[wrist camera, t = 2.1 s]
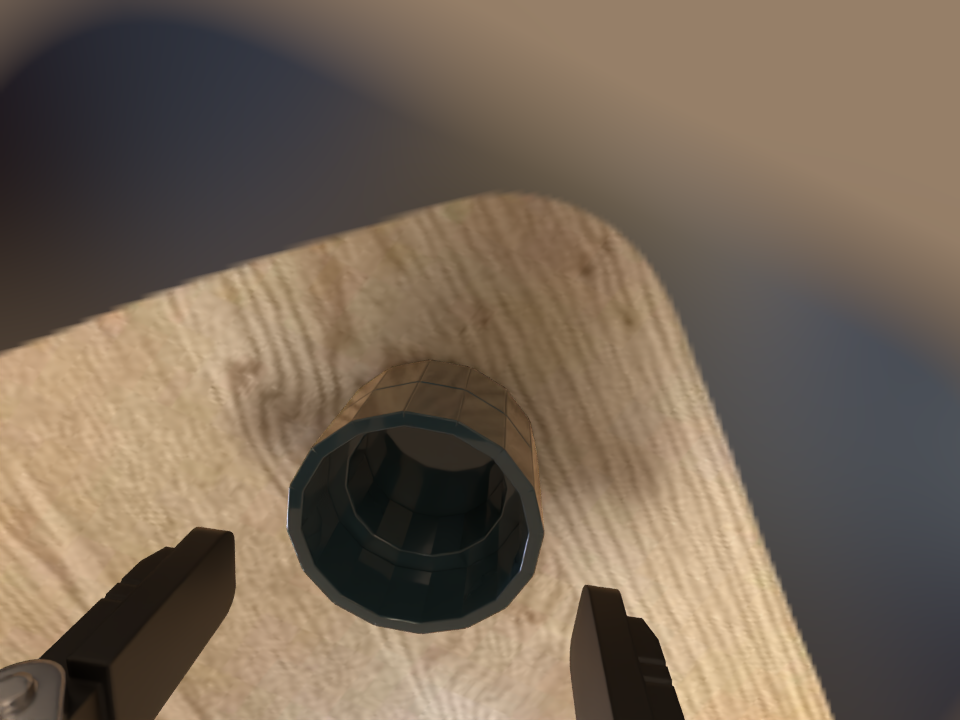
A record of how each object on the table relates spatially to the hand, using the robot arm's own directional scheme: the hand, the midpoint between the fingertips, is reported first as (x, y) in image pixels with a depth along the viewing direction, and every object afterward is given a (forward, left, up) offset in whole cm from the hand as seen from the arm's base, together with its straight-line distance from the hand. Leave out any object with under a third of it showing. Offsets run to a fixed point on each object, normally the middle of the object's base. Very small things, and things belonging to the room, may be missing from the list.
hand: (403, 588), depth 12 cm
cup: (0, 0, -6) cm, 6 cm away
